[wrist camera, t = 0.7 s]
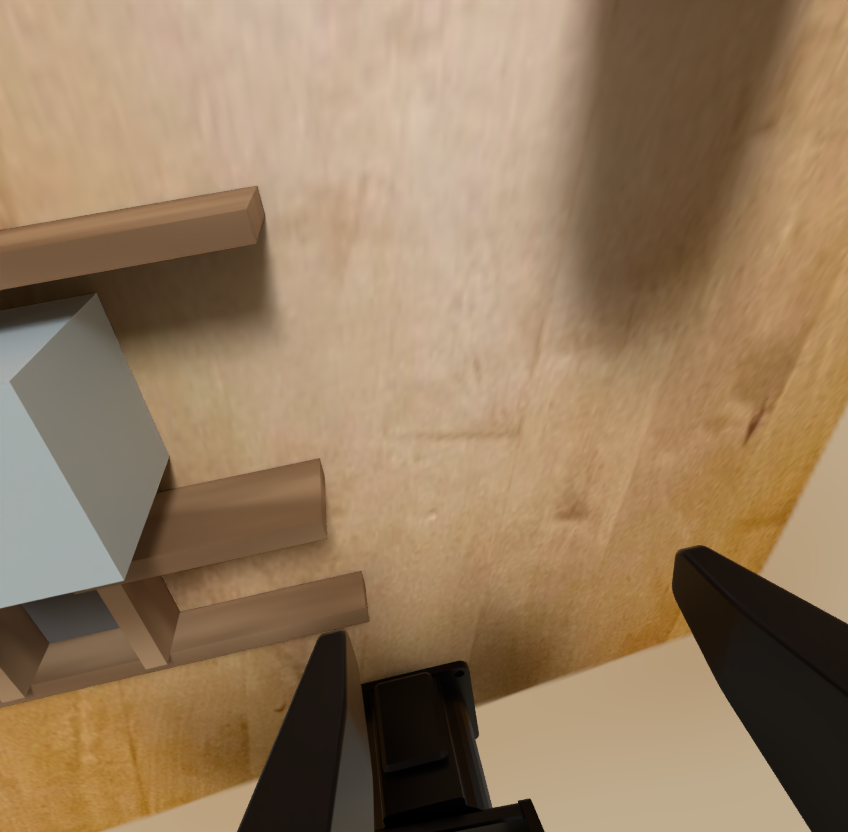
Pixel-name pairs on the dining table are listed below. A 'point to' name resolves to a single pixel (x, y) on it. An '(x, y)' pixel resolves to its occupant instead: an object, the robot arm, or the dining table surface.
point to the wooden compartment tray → (168, 496)
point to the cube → (70, 452)
